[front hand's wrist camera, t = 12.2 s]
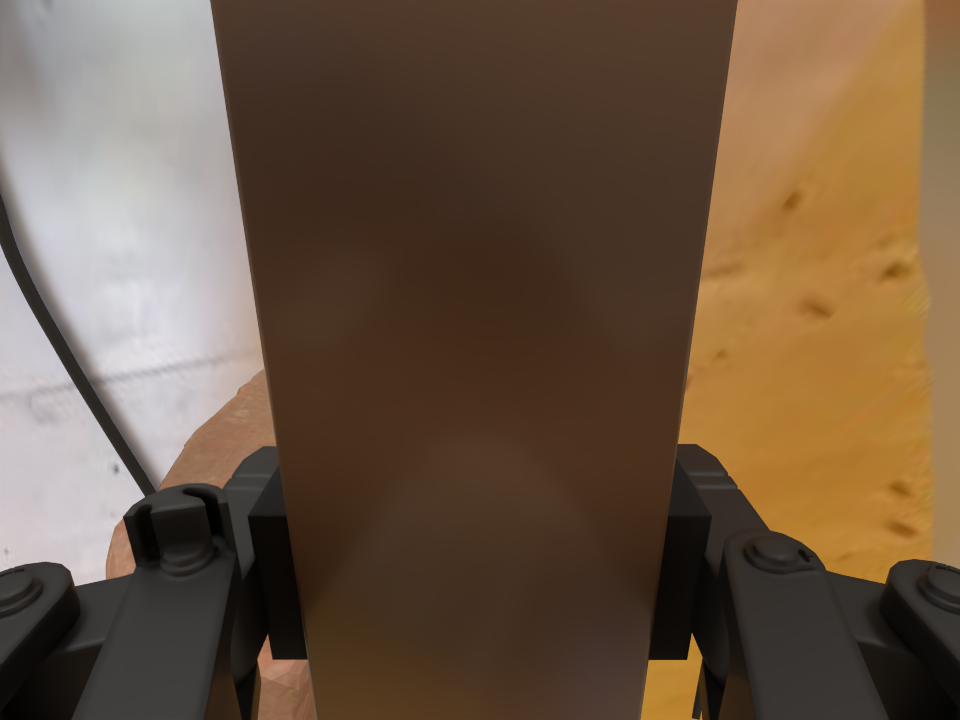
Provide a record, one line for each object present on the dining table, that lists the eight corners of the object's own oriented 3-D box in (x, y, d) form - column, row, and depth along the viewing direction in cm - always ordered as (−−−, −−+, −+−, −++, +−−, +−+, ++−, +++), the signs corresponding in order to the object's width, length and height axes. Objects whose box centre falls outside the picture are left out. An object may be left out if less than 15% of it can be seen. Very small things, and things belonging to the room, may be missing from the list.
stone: (369, 571, 57) (281, 927, 31) (254, 556, 57) (62, 908, 30) (396, 371, 50) (312, 608, 24) (266, 351, 50) (29, 572, 23)
